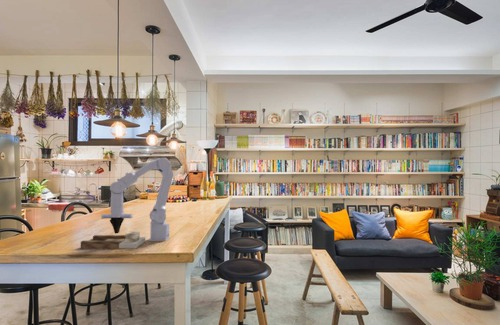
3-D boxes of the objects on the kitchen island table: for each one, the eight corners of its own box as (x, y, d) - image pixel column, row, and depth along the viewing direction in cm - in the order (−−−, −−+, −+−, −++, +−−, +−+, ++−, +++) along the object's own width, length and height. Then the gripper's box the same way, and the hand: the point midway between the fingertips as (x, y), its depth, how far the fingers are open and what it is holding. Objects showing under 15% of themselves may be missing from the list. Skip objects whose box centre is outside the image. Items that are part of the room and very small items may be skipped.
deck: (145, 241, 148) (145, 235, 148) (135, 248, 135) (135, 241, 135) (94, 241, 147) (95, 235, 147) (80, 248, 134) (80, 241, 134)
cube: (139, 239, 144) (139, 231, 144) (135, 242, 139) (135, 233, 139) (129, 239, 143) (129, 231, 144) (125, 242, 138) (125, 233, 139)
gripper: (98, 206, 137) (98, 234, 137) (128, 206, 138) (128, 234, 137) (105, 204, 144) (105, 231, 144) (134, 204, 145) (133, 231, 144)
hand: (116, 232), depth 141 cm, fingers closed
